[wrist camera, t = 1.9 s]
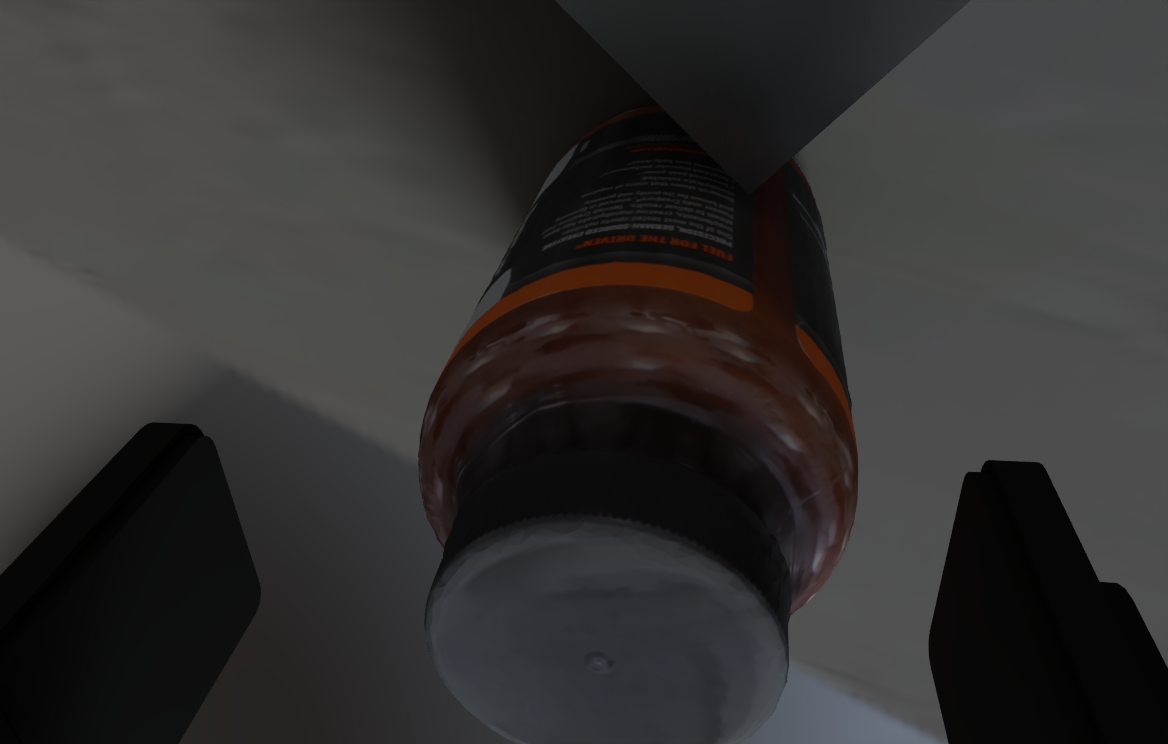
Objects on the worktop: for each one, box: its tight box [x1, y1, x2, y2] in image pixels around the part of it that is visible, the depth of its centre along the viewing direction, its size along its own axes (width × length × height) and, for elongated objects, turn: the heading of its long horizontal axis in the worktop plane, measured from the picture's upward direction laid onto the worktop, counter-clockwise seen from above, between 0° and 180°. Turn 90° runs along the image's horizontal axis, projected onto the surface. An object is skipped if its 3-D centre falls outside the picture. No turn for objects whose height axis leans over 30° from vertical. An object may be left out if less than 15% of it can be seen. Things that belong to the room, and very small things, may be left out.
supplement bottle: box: [418, 105, 858, 744], centre depth 14 cm, size 6×6×11 cm
